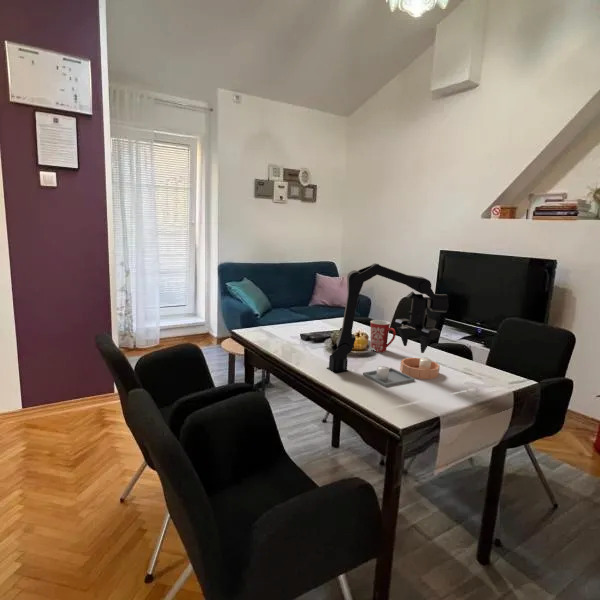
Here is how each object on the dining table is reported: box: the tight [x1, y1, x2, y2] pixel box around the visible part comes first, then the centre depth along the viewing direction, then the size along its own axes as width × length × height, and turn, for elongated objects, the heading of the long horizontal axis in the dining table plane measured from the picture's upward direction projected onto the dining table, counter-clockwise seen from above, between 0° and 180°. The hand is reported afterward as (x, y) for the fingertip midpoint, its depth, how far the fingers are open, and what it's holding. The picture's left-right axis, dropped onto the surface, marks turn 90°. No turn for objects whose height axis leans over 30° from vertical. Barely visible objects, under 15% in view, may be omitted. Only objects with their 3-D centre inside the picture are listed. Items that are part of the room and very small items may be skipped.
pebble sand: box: [419, 357, 432, 370], centre depth 167 cm, size 4×4×4 cm
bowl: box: [399, 357, 440, 380], centre depth 165 cm, size 14×14×4 cm
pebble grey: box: [376, 365, 390, 381], centre depth 156 cm, size 4×4×4 cm
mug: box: [369, 319, 397, 353], centre depth 192 cm, size 13×9×14 cm
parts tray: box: [362, 367, 416, 388], centre depth 158 cm, size 14×13×1 cm
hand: (413, 349), depth 162 cm, fingers open, 9 cm apart
